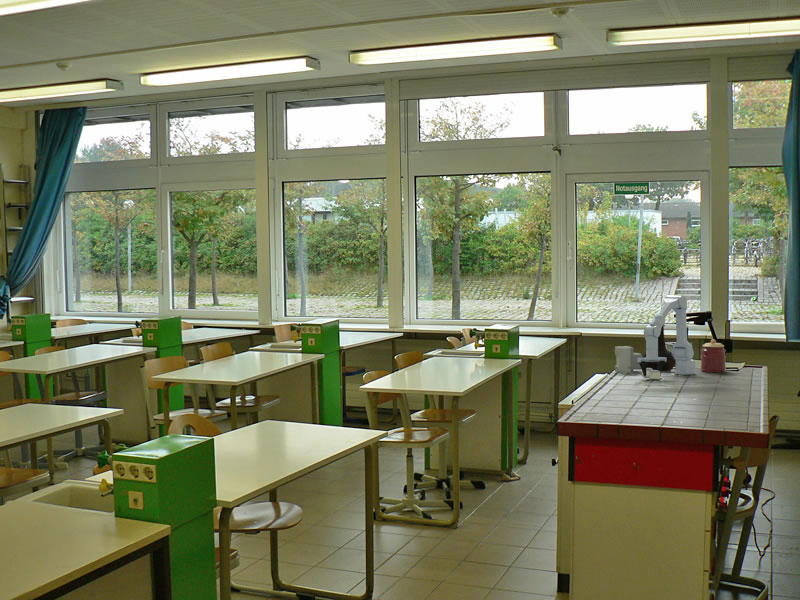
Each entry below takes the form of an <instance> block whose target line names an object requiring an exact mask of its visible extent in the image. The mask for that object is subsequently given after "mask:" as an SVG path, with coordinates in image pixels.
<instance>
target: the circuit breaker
mask: <svg viewBox="0 0 800 600" xmlns="http://www.w3.org/2000/svg"><path fill="white" fill-rule="evenodd" d="M614 355H615V357H616V358H615V359H616V362H615V363H616V364H615V365H614V372H615V373H618V374H619V373H622V374H624V373H625V374H627V373H634V369H641V366H640V364H639V362H638V358H642V356H643V355H642V354H641V353H638V352H634V347H632V346H629V345H624V346H623V345H622V346H620V345H619V346H614Z"/></svg>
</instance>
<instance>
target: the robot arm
mask: <svg viewBox="0 0 800 600" xmlns="http://www.w3.org/2000/svg"><path fill="white" fill-rule="evenodd" d="M687 300H688V299H687V298H686V296H685V295H669V294H667V295H665V297H664V298H663V306H662V307H661V309H660V310H659V311H660V312H659V313H658V314H656V315H655V316H654V317H653V319H652V320H651V322H650V323H649V324H648V325H647V326H645V327H644V330H643V335H644V339H645V347H646V350H645V352H646V358H638V362H639V364H640V366H641V368H640V369H641V373H642V372H643V376H642V377H644V376H646V368H647V363H646V362H657V366H658V371H660V377H661V376H662V373H663V371H662V369H663V367H664V365H665V362H666V361H667V358H665V357H658V337H659V336H660V332H661V327H662V326H663V324H664V325H665V322H666V317H667V316H668V315H669V314H670V312H671V311H673V312H674V313H675V327H676V328H675V329H676V330H675V331H676V332H675V334H676V341H675V342H674V343H673V345H672V350H671V353H672V355H673V357H674V359H676V364H675V374H676V375H696V363H695V360H694V359H693V357H694V355H695V353H694V352H695V350H694V348H693V344H692V343H690V342H689V341H688V328H687V327H688V325H687V310H688V301H687ZM649 360H655V361H649ZM664 361H665V362H664Z"/></svg>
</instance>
